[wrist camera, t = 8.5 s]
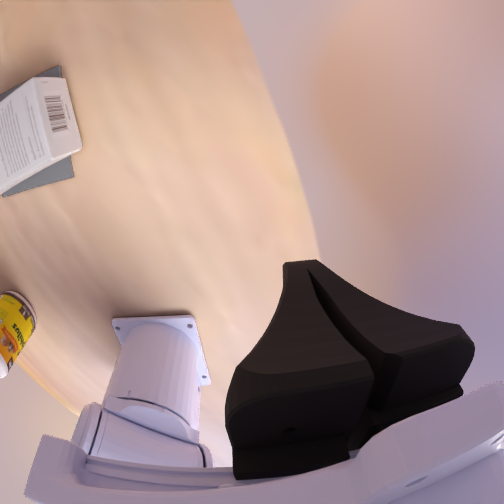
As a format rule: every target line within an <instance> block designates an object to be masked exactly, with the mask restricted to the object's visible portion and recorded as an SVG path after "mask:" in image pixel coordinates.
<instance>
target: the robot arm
mask: <svg viewBox="0 0 504 504" xmlns="http://www.w3.org/2000/svg"><path fill="white" fill-rule="evenodd" d="M111 324H112V326H113V329H114V331H115V333H116V336H117V338H118V340H119V342H120V344H121V347H122V348H121V351H120V354H119V356H118V359H117V362H116V365H115V367H114V370H113V373H112V376H111V379H110V382H109V385H108V388H107V391H106V394H105V397H104V400H103V403H102V405H100V404H98V403H96V402H92V404H88V405H85V406H84V408H83V410H82V412H81V415H80V417H79V420H78V423H77V425H76V428H75V431H74V434H73V436H72V439H71V441H68V440H64V439H60V438H56V437H53V436H49V435H46V434H45V435H43V436H42V439H41V441H40V444H39V447H38V450H37V453H36V456H35V458H34V461H33V465H32V468H31V471H30V474H29V477H28V481H27V485H26V488H25V492H24V495H25V497H27V498H29V499H30V500H32V501H34V502H35V503H37V504H504V384H503V383H502V381H498V382H493V383H490V384H487V385H485V386H483V387H481V388H479V389H477V390H475V391H473V392H470V393H468V394H466V395H464V396H462V395H463V389H462V388H461V386H460V384H459V383H460V382H461V380H462V378H463V377H464V375H465V373H466V371H467V370H468V368H469V366H470V364H471V362H472V360H473V357H474V352H475V346H474V343H473V341H472V340H471V339H470V338H469V336H468V335H467V334H466V332H465V331H464V330H463V329H462V327H461V326H460V325H458V324H452V323H447V322H441V321H436V320H431V319H428V318H424V317H420V316H417V315H414V314H411V313H408V312H405V311H402V310H399V309H397V308H394V307H392V306H390V305H387V304H385V303H383V302H381V301H379V300H377V299H375V298H373V297H371V296H369V295H367V294H366V293H364V292H362V291H361V290H359V289H357V288H356V287H354V286H353V285H351V284H350V283H348V282H347V281H345V280H344V279H342V278H341V277H340V276H338V275H337V274H335V273H334V272H333V271H331V270H330V269H328V268H327V267H326V266H325V265H323V264H322V263H321V262H319V261H318V260H316V259H315V260H305V261H295V262H285V263H284V264H283V290H282V294H281V297H280V300H279V304H278V306H277V309H276V311H275V314H274V316H273V318H272V320H271V322H270V324H269V326H268V328H267V329H266V331H265V333H264V334H263V336H262V337H261V339H260V340H259V341H258V343H257V344H256V345H255V347H254V348H253V349H252V351H251V352H250V353H249V354H248V355H247V356H246V357H245V358H244V359H243V360H242V361H241V363H240V364H239V365H238V366H237V367H236V369H235V372H234V374H233V377H232V380H231V383H230V386H229V389H228V393H227V397H226V404H225V427H226V430H227V433H228V436H229V440H230V443H231V446H232V455H233V467H215V464H214V461H213V458H212V455H211V453H210V451H209V449H208V448H207V447H206V446H205V445H203V444H199V431H198V425H199V410H200V396H201V385H209V384H210V383H211V379H210V376H209V372H208V368H207V365H206V361H205V357H204V353H203V350H202V346H201V342H200V338H199V334H198V330H197V326H196V322H195V318H194V317H193V316H191V315H177V316H157V317H132V318H114V319H113V320H112V322H111ZM188 324H191V326H190V325H188ZM118 327H119V328H118ZM204 375H205V376H204ZM460 396H462V397H460Z"/></svg>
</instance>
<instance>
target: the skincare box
mask: <svg viewBox="0 0 504 504" xmlns="http://www.w3.org/2000/svg"><path fill="white" fill-rule="evenodd" d="M81 149H82V141H81V137H80V134H79V130H78V126H77V122H76V119H75V115H74V111H73V107H72V103H71V99H70V95H69V91H68V87H67V82H66V79H65V78H58V77H33V78H31V79H29V80H28V81H27V82H25V83H24V84H23V85H21V86H20V87H19V88H17V89H16V90H15V91H13V92H12V93H11V94H9V95H8V96H7V97H6V98H4V99H3V100H2V101H1V102H0V195H1V194H3V193H4V192H6V191H7V190H9V189H10V188H12V187H13V186H15V185H17V184H18V183H20V182H22V181H23V180H25V179H27V178H28V177H30V176H32V175H34V174H36V173H37V172H39V171H41V170H43V169H44V168H46V167H48V166H50V165H52V164H54V163H56V162H58V161H60V160H62V159H64V158H66V157H67V156H69V155H72V154H74V153H76V152H78V151H80V150H81Z"/></svg>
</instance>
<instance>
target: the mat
mask: <svg viewBox="0 0 504 504" xmlns="http://www.w3.org/2000/svg"><path fill="white" fill-rule="evenodd" d="M35 77H58V78H61V66H57V67H54V68H52V69H50V70H48V71H45V72H43V73H41V74H39V75H37V76H35ZM27 81H28V80H27ZM27 81H25V82H27ZM25 82H23V83H21V84H19V85H17V86H15V87H13V88H12V89H10V90H8V91H6V92H5V93H3V94H1V95H0V102H1V101H2V100H3V99H4V98H6V97H7V96H8V95H9V94H11V93H12V92H13V91H15V90H16V89H17V88H19V87H20V86H21V85H23V84H24V83H25ZM73 177H74V173H73V168H72V163H71V157H70V155H69V156H67V157H66V158H64V159H62V160H60V161H58V162H56V163H54V164H52V165H50V166H48V167H46V168H44V169H43V170H41V171H39V172H37V173H36V174H34V175H32V176H30V177H28V178H27V179H25V180H23V181H22V182H20V183H18V184H17V185H15V186H13V187H12V188H10V189H9V190H7V191H6V192H4V193H3V194H2V197H6V196H9V195H12V194H16V193H19V192H22V191H25V190H29V189H32V188H36V187H39V186H43V185H46V184H50V183H53V182H57V181H61V180H65V179H69V178H73Z"/></svg>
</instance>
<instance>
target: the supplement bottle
mask: <svg viewBox="0 0 504 504" xmlns="http://www.w3.org/2000/svg"><path fill="white" fill-rule="evenodd" d="M36 323H37V322H36V316H35V313H34V311H33V309H32V307H31V306H30V304H29V303H28V302H27V300H26V299H25V298H23V297H22V296H21V295H20V294H18V293H16V292H14V291H5V292H3V293H2V294H1V295H0V378H3V377H5V376H6V375H7V373H8V372H9V369H10V368H11V366H12V365H13V363H14V361H15V360H16V358H17V356H18V355H19V353H20V352H21V350H22V349H23V347H24V345H25V344H26V342H27V341H28V339H29V338H30V336H31V335H32V333H33V332H34V330H35V328H36Z"/></svg>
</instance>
